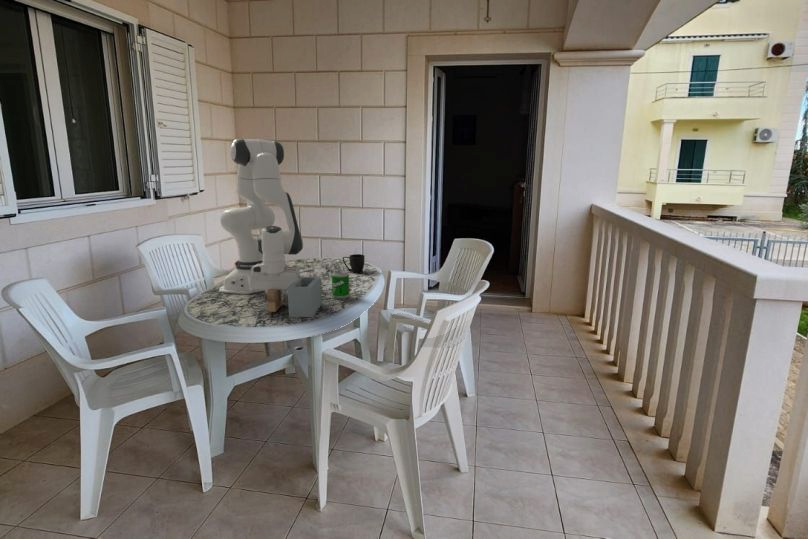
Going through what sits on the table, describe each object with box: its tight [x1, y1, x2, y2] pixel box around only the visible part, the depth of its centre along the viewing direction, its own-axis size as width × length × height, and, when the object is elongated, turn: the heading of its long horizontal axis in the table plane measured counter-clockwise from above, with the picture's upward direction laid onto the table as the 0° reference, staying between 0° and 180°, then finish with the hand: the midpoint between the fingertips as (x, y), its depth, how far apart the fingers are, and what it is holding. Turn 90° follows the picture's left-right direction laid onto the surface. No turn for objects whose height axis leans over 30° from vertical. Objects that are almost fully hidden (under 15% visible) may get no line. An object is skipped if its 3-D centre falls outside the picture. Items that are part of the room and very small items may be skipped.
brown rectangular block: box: [266, 289, 286, 313], centre depth 184 cm, size 12×3×8 cm, turn 177°
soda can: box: [331, 269, 350, 300], centre depth 201 cm, size 8×8×12 cm
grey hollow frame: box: [287, 276, 323, 318], centre depth 183 cm, size 9×18×12 cm, turn 178°
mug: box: [342, 253, 366, 274], centre depth 248 cm, size 8×12×10 cm
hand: (276, 299), depth 185 cm, fingers closed on brown rectangular block, 3 cm apart
